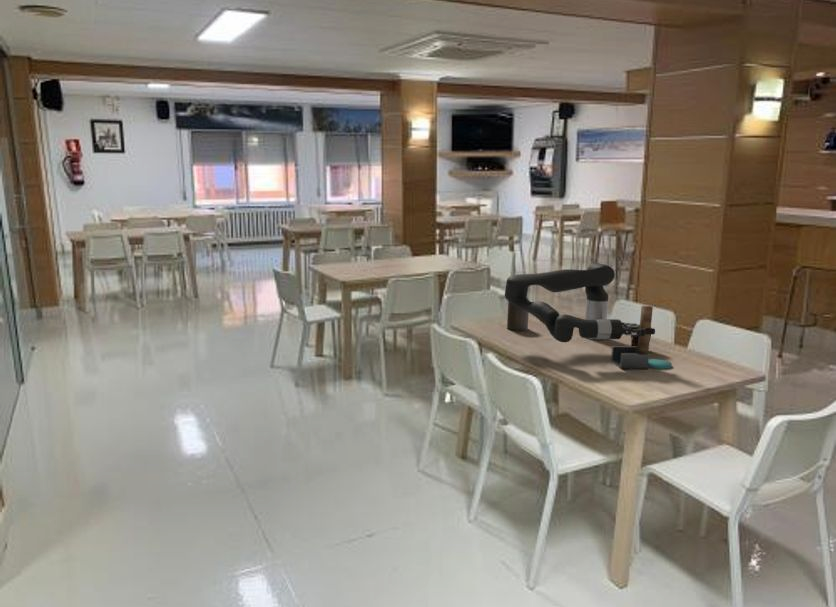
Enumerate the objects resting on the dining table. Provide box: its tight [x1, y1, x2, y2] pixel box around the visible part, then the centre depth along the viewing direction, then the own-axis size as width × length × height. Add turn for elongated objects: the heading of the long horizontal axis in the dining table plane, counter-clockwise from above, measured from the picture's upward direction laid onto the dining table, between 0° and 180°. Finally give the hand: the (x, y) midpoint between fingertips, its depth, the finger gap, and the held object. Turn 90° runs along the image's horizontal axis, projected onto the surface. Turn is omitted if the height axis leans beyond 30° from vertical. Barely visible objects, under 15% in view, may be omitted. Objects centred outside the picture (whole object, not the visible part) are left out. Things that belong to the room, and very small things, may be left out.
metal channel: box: [610, 345, 650, 371], centre depth 244 cm, size 12×10×6 cm
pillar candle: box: [506, 300, 530, 332], centre depth 298 cm, size 10×10×15 cm
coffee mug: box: [630, 326, 653, 346], centre depth 263 cm, size 12×9×10 cm
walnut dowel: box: [637, 305, 654, 354], centre depth 242 cm, size 4×4×20 cm
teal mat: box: [648, 358, 673, 370], centre depth 245 cm, size 10×10×1 cm
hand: (652, 329), depth 242 cm, fingers closed on walnut dowel, 4 cm apart
